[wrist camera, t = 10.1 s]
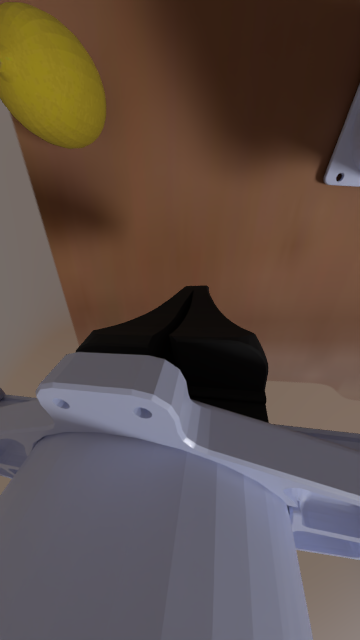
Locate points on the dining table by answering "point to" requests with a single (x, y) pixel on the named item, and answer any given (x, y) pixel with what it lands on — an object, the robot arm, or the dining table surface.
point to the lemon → (49, 78)
